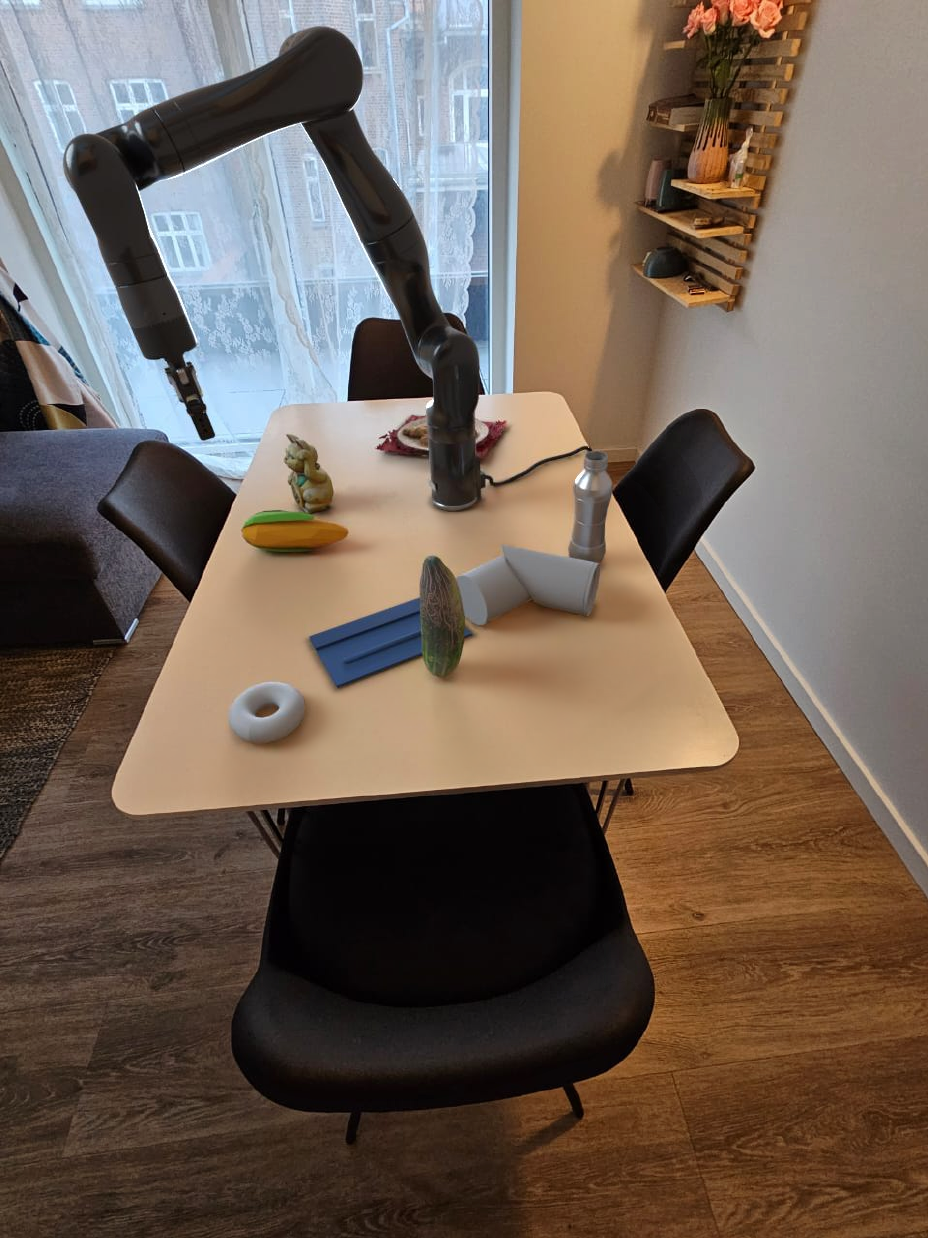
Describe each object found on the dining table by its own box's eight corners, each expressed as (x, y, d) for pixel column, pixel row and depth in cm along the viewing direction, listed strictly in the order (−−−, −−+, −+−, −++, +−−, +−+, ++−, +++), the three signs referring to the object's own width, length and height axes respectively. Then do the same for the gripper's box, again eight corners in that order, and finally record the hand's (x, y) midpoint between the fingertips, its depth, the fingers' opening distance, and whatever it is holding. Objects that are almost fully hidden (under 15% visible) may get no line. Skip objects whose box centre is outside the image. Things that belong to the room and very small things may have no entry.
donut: (310, 691, 92) (239, 696, 91) (306, 673, 90) (233, 678, 89) (303, 746, 84) (224, 752, 84) (298, 728, 82) (217, 734, 81)
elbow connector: (538, 552, 115) (446, 596, 106) (549, 505, 107) (452, 549, 98) (608, 616, 106) (516, 670, 97) (627, 571, 98) (528, 625, 89)
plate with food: (481, 467, 145) (481, 452, 143) (375, 453, 151) (373, 439, 149) (507, 426, 162) (508, 413, 160) (411, 415, 169) (411, 402, 166)
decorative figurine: (287, 503, 135) (270, 433, 125) (321, 489, 139) (308, 421, 129) (310, 520, 129) (295, 449, 120) (345, 505, 133) (334, 435, 124)
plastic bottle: (607, 554, 116) (620, 449, 103) (600, 575, 111) (613, 467, 98) (571, 548, 118) (580, 444, 105) (563, 569, 113) (571, 462, 100)
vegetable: (439, 652, 97) (430, 538, 85) (475, 665, 95) (472, 550, 82) (417, 677, 93) (404, 561, 81) (454, 692, 91) (447, 575, 78)
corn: (243, 501, 120) (349, 501, 118) (254, 534, 125) (356, 535, 124) (230, 524, 114) (341, 524, 113) (242, 558, 120) (348, 559, 118)
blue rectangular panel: (436, 595, 108) (436, 590, 107) (471, 635, 100) (471, 630, 99) (310, 640, 100) (308, 635, 100) (337, 688, 92) (335, 682, 91)
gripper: (190, 316, 84) (237, 436, 93) (180, 303, 95) (222, 412, 104) (131, 331, 82) (184, 452, 91) (127, 316, 93) (175, 426, 102)
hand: (204, 430), depth 98 cm, fingers open, 8 cm apart
